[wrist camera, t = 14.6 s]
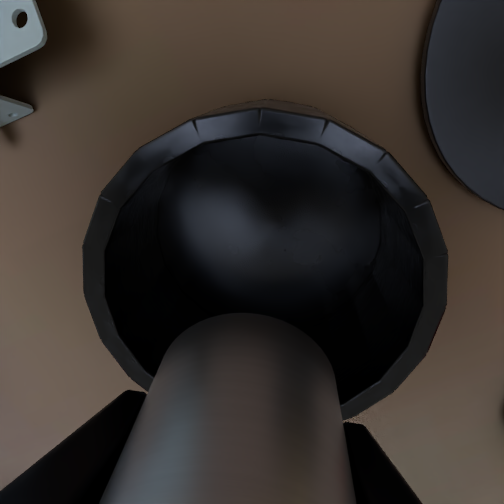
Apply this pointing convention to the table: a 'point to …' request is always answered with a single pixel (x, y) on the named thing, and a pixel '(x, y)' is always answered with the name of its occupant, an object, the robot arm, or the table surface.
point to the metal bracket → (18, 47)
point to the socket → (237, 421)
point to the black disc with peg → (467, 92)
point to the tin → (269, 244)
